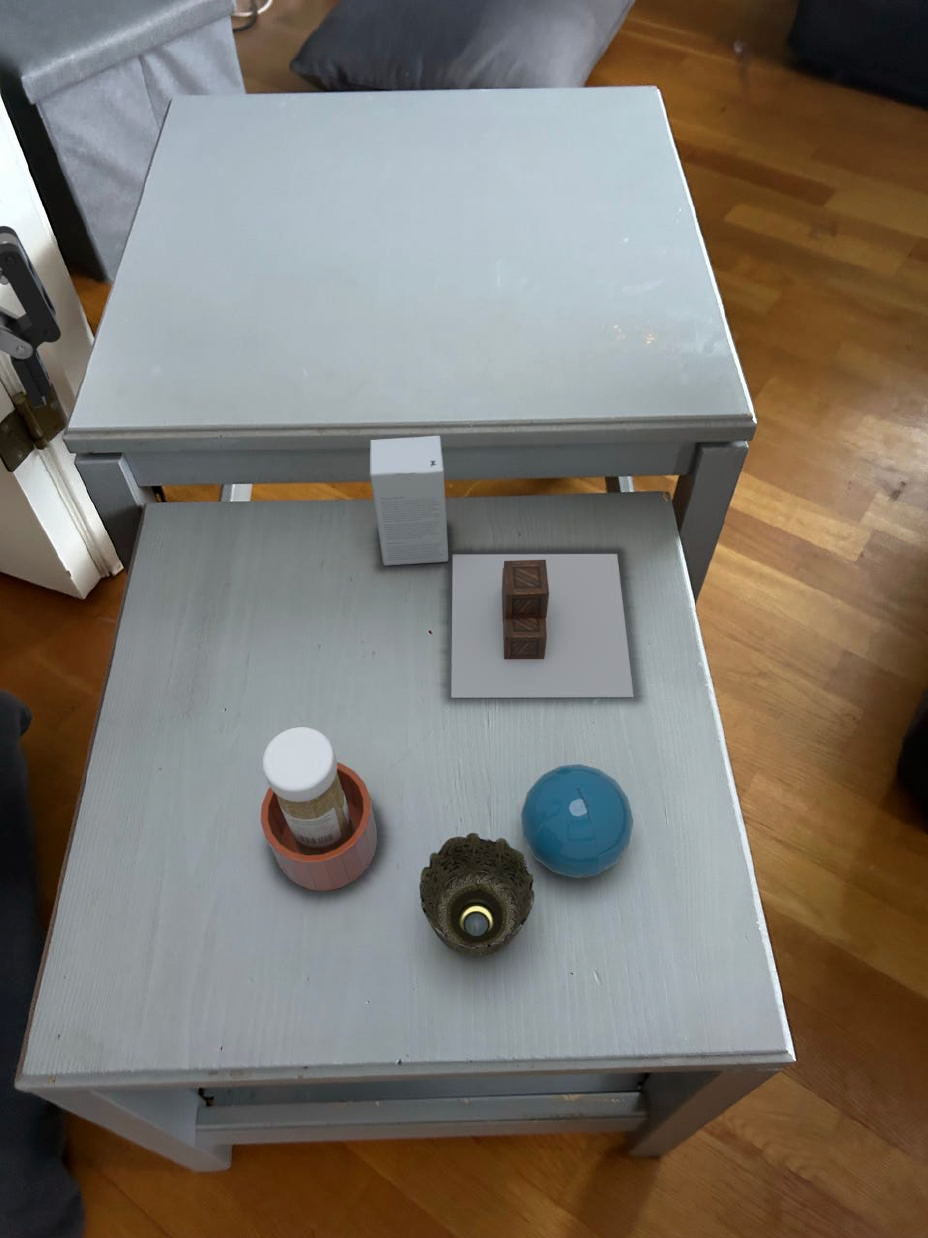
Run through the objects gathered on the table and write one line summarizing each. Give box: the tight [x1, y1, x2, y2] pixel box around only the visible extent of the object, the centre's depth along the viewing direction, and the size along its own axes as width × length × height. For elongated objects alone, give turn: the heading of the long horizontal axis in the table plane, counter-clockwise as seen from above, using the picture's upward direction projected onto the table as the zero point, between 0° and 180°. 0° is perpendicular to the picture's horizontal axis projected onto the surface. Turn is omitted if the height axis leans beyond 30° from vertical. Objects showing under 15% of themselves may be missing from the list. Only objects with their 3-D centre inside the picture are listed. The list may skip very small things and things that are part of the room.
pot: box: [260, 761, 378, 892], centre depth 68 cm, size 8×8×6 cm
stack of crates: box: [450, 553, 634, 699], centre depth 79 cm, size 15×15×7 cm
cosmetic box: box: [369, 435, 449, 566], centre depth 82 cm, size 6×4×12 cm
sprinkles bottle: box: [262, 726, 355, 856], centre depth 65 cm, size 5×5×13 cm
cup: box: [418, 832, 535, 958], centre depth 64 cm, size 8×7×8 cm
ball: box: [520, 763, 634, 879], centre depth 67 cm, size 8×8×8 cm
